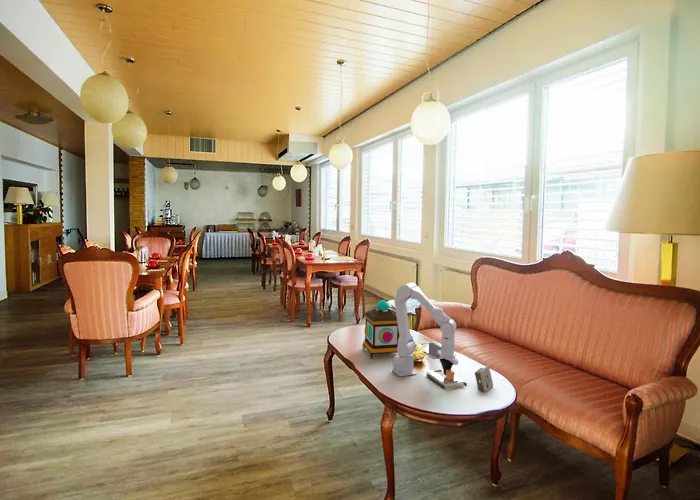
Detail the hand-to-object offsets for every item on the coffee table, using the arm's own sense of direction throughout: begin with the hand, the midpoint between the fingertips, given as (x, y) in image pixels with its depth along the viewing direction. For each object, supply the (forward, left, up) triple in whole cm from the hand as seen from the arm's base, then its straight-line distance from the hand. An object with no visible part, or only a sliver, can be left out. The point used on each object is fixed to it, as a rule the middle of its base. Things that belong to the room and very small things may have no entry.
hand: (446, 374), depth 190 cm
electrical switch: (+13, -10, -4) cm, 17 cm away
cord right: (+7, +1, -4) cm, 8 cm away
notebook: (+17, +40, -4) cm, 43 cm away
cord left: (-5, +1, -4) cm, 6 cm away
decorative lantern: (-13, +45, -4) cm, 47 cm away
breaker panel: (0, +1, -4) cm, 4 cm away
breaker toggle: (0, -3, -1) cm, 3 cm away
